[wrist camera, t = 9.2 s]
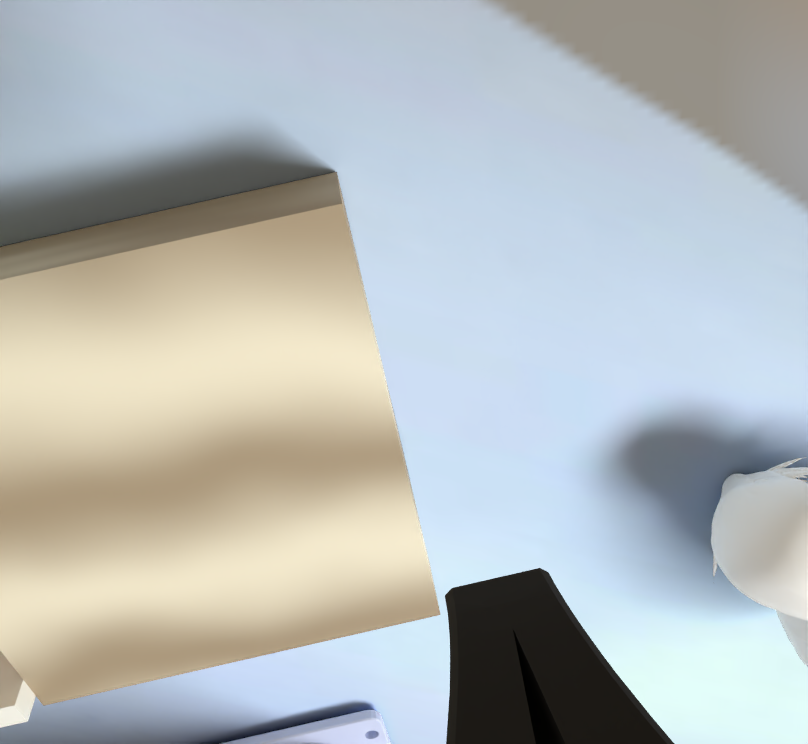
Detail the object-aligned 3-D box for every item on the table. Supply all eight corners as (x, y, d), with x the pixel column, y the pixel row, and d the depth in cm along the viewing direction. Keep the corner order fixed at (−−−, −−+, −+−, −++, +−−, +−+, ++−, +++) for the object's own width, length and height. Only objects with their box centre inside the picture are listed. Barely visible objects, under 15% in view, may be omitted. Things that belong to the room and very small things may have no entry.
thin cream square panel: (429, 564, 24) (440, 614, 22) (60, 648, 24) (43, 705, 22) (336, 172, 17) (341, 203, 15) (-194, 290, 17) (-248, 334, 15)
